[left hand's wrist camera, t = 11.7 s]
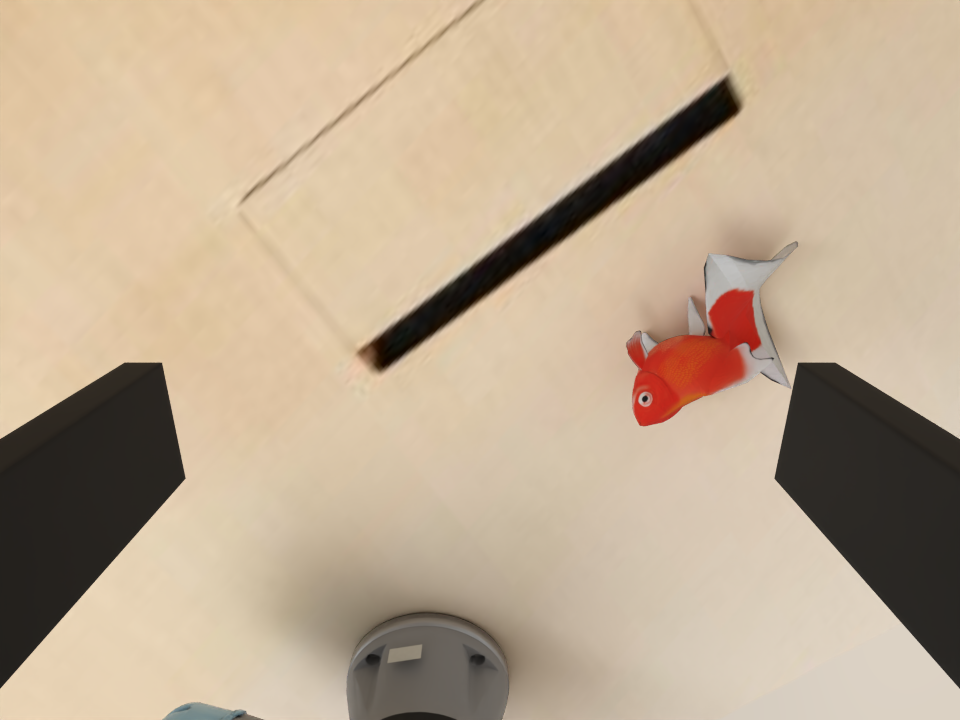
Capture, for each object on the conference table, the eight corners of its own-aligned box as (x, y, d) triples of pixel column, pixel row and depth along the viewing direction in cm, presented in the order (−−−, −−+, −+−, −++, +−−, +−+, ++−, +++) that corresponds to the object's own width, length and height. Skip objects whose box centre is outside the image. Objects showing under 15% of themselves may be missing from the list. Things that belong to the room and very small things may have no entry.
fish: (560, 313, 39) (678, 371, 31) (717, 187, 42) (857, 211, 35) (600, 417, 45) (706, 486, 37) (733, 300, 49) (855, 342, 41)
